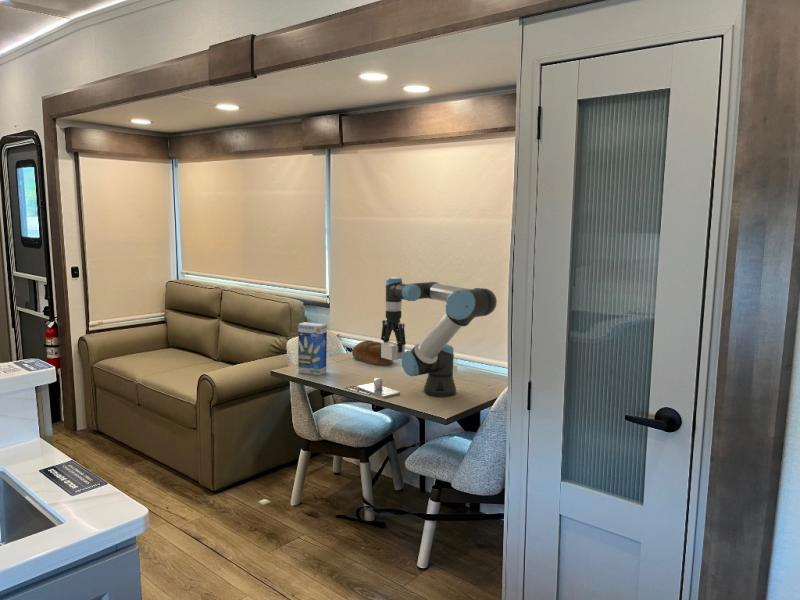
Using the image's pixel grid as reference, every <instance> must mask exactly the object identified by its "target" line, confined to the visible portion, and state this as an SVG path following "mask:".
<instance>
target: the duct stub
mask: <svg viewBox="0 0 800 600" xmlns="http://www.w3.org/2000/svg"><path fill="white" fill-rule="evenodd" d="M356 389H358V390H360V389H361V390H360V391H363V392H365V393H369V394H371V395H373V396H377V397H379V398H382V399H385V398H389V397H393V396H398V395H401V391H398V390H395V389H392V388H390V387H386V386H383V378H382V377H374V378H373V382H370V383H366V384H361V385H356Z"/></svg>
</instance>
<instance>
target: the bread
mask: <svg viewBox="0 0 800 600" xmlns="http://www.w3.org/2000/svg"><path fill="white" fill-rule="evenodd" d="M381 343H382V342H379V341H373V340H363V341H361V342H359V343H357V344H356V345H354V347H353V348H352V351H351V354H352V357H353V358H354V359H355V360H356V361H360V362H362V363H366V364H369V365H374V366H388V365H389V366H390V365H391V364H392V363H393V361H394V360H389V359H385V358H382V357H381Z"/></svg>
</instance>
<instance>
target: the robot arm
mask: <svg viewBox="0 0 800 600" xmlns="http://www.w3.org/2000/svg"><path fill="white" fill-rule="evenodd" d="M422 299H430V300H434V301H441V302H445V303H446V304H445V314H444V315H443V316H442V318H441V319H440V320H439V321H438V322H437V324H436V325H435V326H434V327H433V329H431V331H430V332H429V333H428V335H427V336H426V337H425V338H424V339H423V341H419V342H417V343H416V344H415V345H414V346H413V348H412V349H410V350H408V349H407V350H405V352H404V353H403V354H402V346H403V345H405V346H406V343H407V342H406V332H405V327H406V325H405V323H402V322H401V319H402V300H405V301H408V302H416V301H418V300H422ZM497 302H498V301H497V296H496V295H495V293H494V292H493V290H491V289H488V288H483V287H482V288H480V287H475V288H472V289H471V288H464V287H459V286H455V285H454V286H453V285H447V284H442V283H439V282H437V281H429V282H427V281H426V282H413V283H405V282H403V278H401V277H396V276H394V277H393V276H389V277H387V278H386V281H385V318H386V319H383V320H382V321H381V323H382V329H381V335H380V340H381V341H383V342H382V343H386V342H390V337H391V335H392V332H393V333H394V336H395V340H396V342H397V344H398V345H397V346H396V359H397V360H401V367H402V369H403V371H404V373H405V374H406V375H407V376H409V377H418V376H422V375H427V377H426V381H425V384H424V386H423V393H424V394H425V395H427V396H433V397H439V398H440V397H441V398H442V397H443V398H444V397H452V396H455V395H456V393H457V387H456V384H455V380H454V379H455V378H454V360H455V359H454V353H455V352H454V347H453V345H451V344H448V343H449V342H450V341H451V340H452V338H453V337H454V336H455V335H456V333H458V331H460V329H461V328H462V327H467V326H468V325H470V323H471V322H472V321H474V319H476V318H479V317H480V318H481V317H486V316H489V315H491V314H492V313H494V311H495V309H496V307H497Z"/></svg>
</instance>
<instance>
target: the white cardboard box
mask: <svg viewBox="0 0 800 600" xmlns="http://www.w3.org/2000/svg"><path fill="white" fill-rule="evenodd" d="M380 343H381V357H382V358H385V359H389V360H393V361H396V360H398V359H396V346H397V345H398V344H397V341H388V342H386V343H384V342H380ZM405 351H406V344H405V345H403V346H402V354H403V353H404V352H405Z"/></svg>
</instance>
